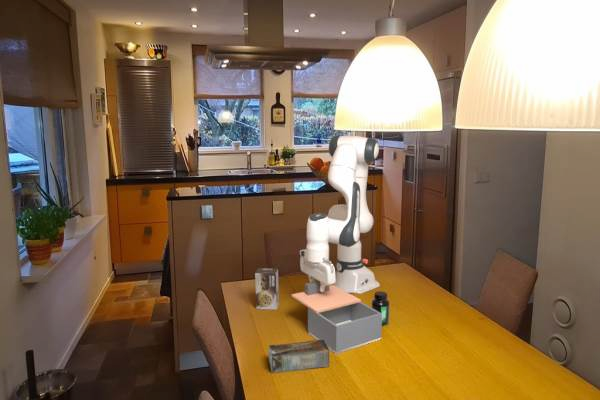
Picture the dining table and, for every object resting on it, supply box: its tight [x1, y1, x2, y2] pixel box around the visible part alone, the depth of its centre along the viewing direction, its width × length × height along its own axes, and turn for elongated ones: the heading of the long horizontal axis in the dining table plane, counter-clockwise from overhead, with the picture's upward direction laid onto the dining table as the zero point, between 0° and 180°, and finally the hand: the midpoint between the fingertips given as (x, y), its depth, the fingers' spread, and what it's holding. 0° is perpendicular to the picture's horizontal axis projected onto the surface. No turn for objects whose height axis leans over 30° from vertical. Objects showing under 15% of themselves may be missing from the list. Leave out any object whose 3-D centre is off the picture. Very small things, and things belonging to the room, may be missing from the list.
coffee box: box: [254, 267, 280, 311], centre depth 188 cm, size 9×6×16 cm
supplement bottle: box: [371, 290, 390, 327], centre depth 174 cm, size 7×7×12 cm
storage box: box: [307, 301, 383, 355], centre depth 162 cm, size 20×18×10 cm
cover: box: [291, 280, 362, 313], centre depth 171 cm, size 20×18×5 cm
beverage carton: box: [268, 339, 330, 374], centre depth 144 cm, size 8×19×7 cm, turn 102°
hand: (317, 288), depth 176 cm, fingers open, 5 cm apart
